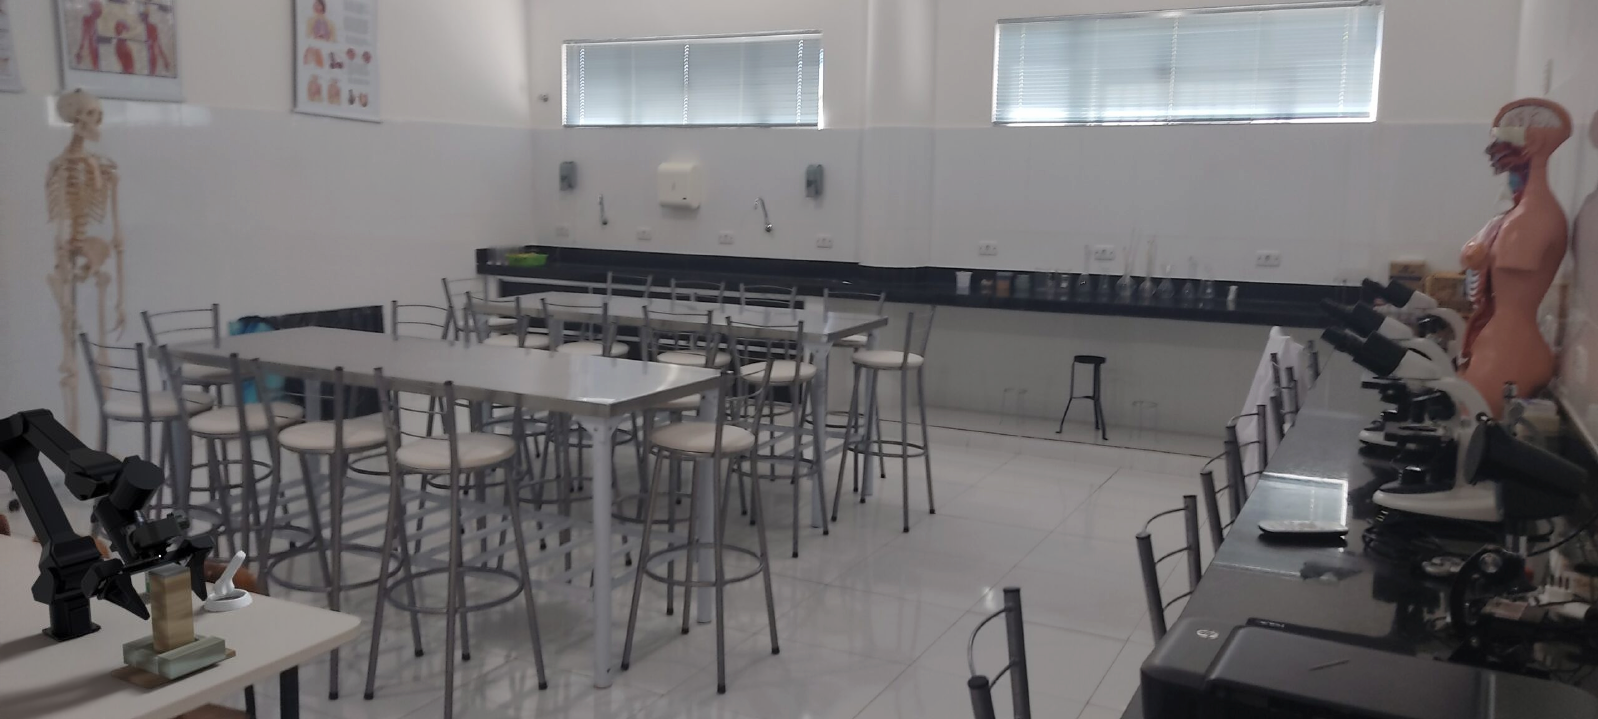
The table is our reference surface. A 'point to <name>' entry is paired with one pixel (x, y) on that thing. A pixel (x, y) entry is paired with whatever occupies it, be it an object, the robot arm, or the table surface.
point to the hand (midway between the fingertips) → (177, 608)
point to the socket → (169, 660)
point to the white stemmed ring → (228, 589)
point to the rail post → (171, 607)
